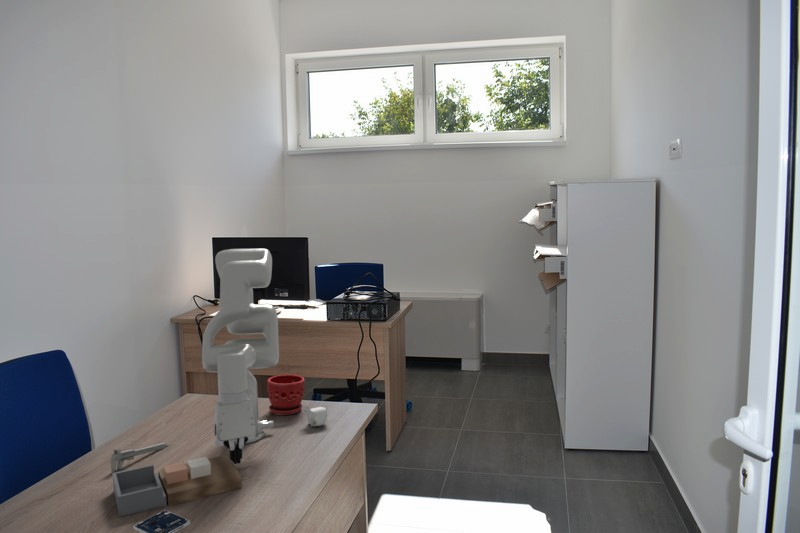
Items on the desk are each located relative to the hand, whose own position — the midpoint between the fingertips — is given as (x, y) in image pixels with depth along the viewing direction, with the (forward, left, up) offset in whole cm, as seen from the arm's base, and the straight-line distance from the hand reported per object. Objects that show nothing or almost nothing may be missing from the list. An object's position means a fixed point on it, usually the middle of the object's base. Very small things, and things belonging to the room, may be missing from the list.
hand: (236, 462), depth 162 cm
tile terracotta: (+16, 0, -1) cm, 16 cm away
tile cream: (+10, 0, -1) cm, 10 cm away
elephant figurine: (-33, -23, -4) cm, 41 cm away
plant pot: (-29, -42, -4) cm, 51 cm away
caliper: (+21, -26, -4) cm, 34 cm away
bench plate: (+10, 0, -4) cm, 10 cm away
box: (+24, 0, -4) cm, 25 cm away
